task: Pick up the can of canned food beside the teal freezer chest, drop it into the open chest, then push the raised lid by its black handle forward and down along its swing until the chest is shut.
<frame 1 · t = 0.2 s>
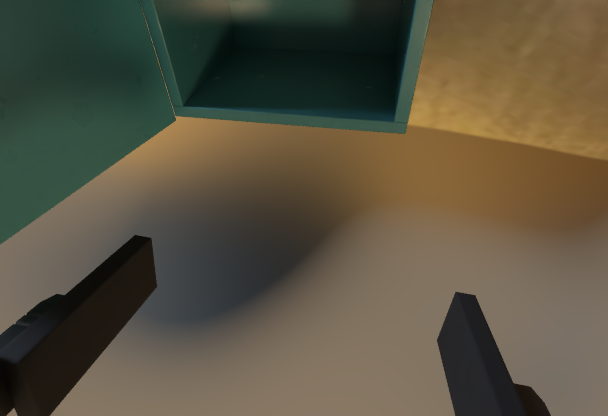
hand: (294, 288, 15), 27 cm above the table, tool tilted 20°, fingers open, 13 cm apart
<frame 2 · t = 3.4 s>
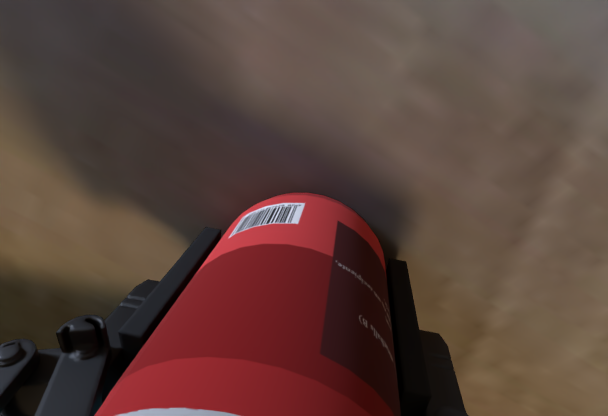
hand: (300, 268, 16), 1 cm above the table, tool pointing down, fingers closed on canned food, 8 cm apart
canned food: (303, 257, 17), on the table, touching gripper
when the fingers open (12 cm above the table, at t = 9.5 s): canned food drops 10 cm, resting on freezer chest.
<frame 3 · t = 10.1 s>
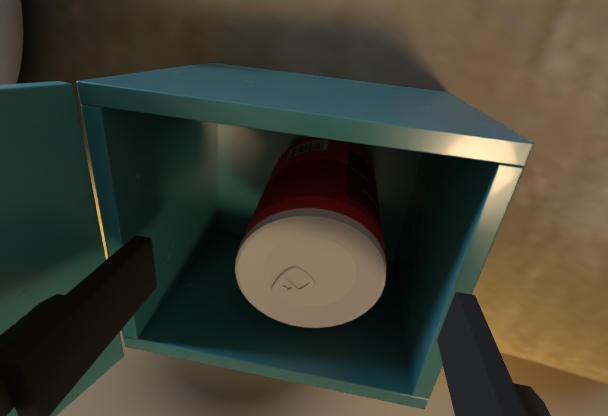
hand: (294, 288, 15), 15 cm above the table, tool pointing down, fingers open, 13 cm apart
freezer chest: (314, 172, 28), on the table
canned food: (323, 178, 27), point 1 cm above the table, touching freezer chest
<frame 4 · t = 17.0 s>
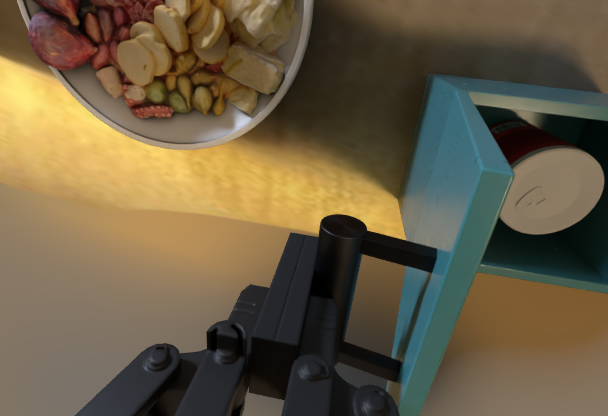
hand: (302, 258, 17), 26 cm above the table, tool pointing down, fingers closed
freezer chest: (489, 151, 39), on the table
chest lid: (390, 234, 20), point 23 cm above the table, hinge at 101.0°
canned food: (500, 153, 38), point 1 cm above the table, touching freezer chest
bowl: (180, 1, 37), on the table
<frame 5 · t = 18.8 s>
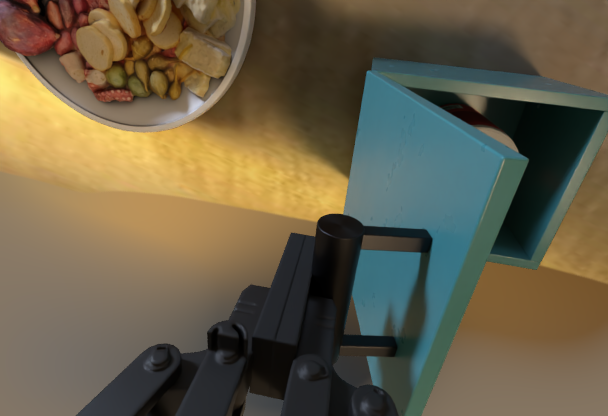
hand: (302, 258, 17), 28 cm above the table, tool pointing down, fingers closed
freezer chest: (436, 134, 40), on the table
chest lid: (346, 218, 21), point 23 cm above the table, hinge at 77.3°, touching gripper
canned food: (445, 136, 39), point 1 cm above the table, touching freezer chest
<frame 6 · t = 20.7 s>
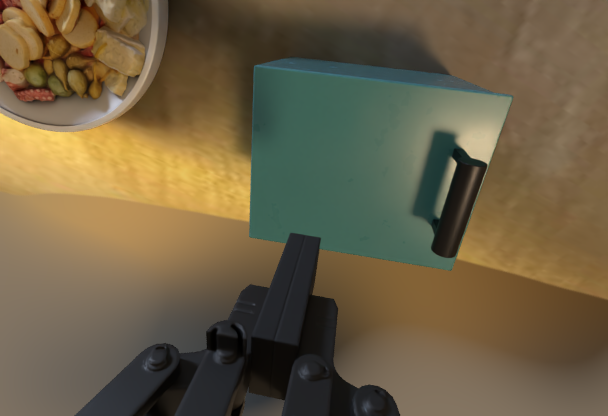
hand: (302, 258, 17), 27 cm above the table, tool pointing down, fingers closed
freezer chest: (357, 133, 40), on the table
chest lid: (361, 186, 26), point 16 cm above the table, hinge at -0.1°
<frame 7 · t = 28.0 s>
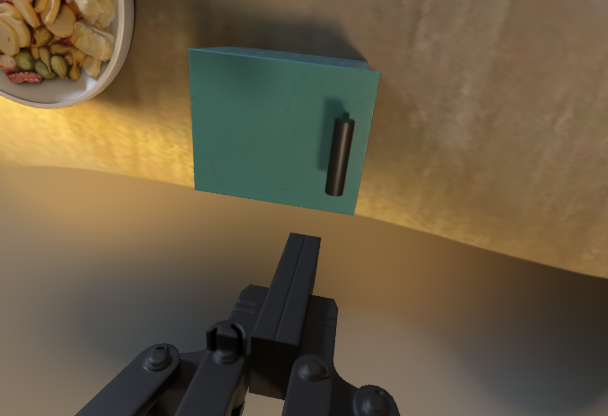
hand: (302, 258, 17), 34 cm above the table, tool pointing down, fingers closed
freezer chest: (296, 111, 48), on the table
chest lid: (272, 142, 34), point 16 cm above the table, hinge at -0.1°
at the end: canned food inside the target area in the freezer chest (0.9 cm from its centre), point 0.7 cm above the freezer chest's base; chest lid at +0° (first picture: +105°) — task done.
